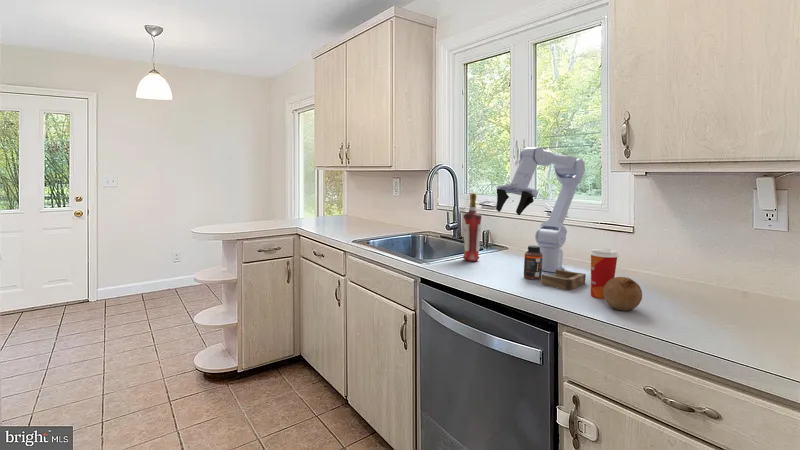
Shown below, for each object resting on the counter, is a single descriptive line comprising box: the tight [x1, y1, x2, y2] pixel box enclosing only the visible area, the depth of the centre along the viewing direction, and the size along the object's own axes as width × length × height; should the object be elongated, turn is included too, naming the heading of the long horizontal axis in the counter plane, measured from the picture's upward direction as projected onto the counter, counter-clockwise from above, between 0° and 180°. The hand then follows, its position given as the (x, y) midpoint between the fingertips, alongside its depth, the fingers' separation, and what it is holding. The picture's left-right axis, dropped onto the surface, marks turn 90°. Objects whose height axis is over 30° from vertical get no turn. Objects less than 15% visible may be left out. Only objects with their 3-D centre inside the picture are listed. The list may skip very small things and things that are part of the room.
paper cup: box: [589, 248, 619, 300], centre depth 126 cm, size 8×8×14 cm
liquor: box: [462, 192, 482, 263], centre depth 175 cm, size 7×7×28 cm
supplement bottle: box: [523, 245, 543, 281], centre depth 147 cm, size 6×6×11 cm
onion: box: [603, 276, 643, 312], centre depth 115 cm, size 10×9×10 cm
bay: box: [540, 269, 586, 291], centre depth 140 cm, size 12×10×3 cm
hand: (507, 212), depth 142 cm, fingers open, 7 cm apart
